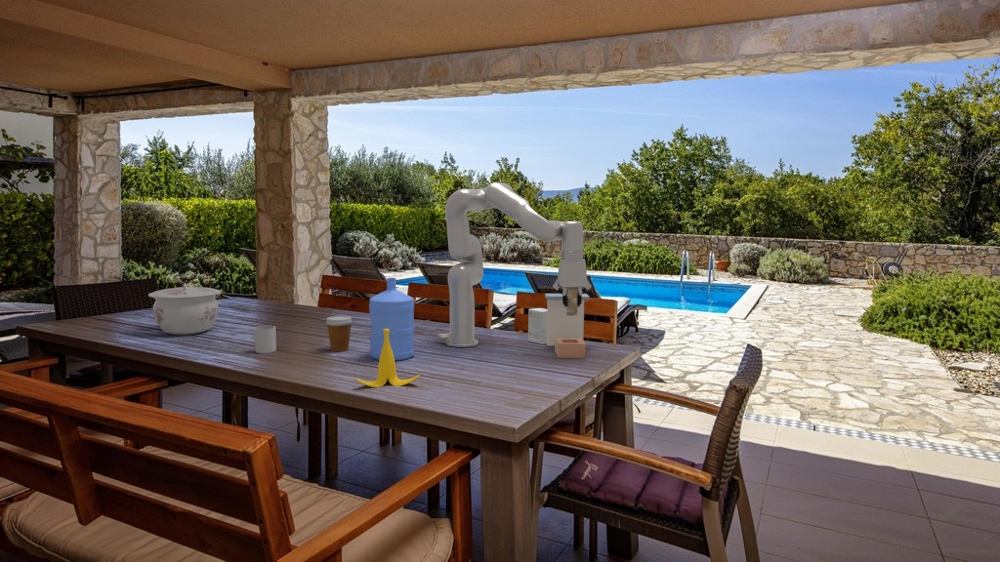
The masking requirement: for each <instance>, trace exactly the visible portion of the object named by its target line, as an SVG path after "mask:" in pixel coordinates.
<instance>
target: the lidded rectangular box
mask: <svg viewBox="0 0 1000 562" xmlns="http://www.w3.org/2000/svg"><path fill="white" fill-rule="evenodd" d="M566 296H567V293H566ZM544 298H545V299H546V300H547V301H546V303H547V304H546V305H547V306H546V307H547V308H546V309H547V343H546V346H548V347H555V338H582V339H583V340H584V328H585V327H584V323H585V320H584V319H585V301H590V299H591V297H590V295H588V294H587V293H583V295H582V304H580V307H578V315H574V316H570V315H566V307H565V306H564V304H563V295H562V294H561V293H544Z"/></svg>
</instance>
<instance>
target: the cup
mask: <svg viewBox="0 0 1000 562" xmlns="http://www.w3.org/2000/svg"><path fill="white" fill-rule="evenodd" d="M276 333H277V330H276V326H274V325H259V326H255V327H254V349H255V353H257V354H263V355H264V354H272V353H275V352H276V351H277V334H276Z"/></svg>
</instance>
